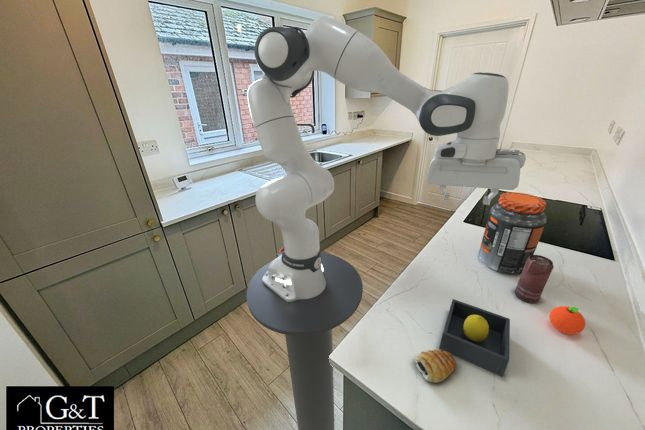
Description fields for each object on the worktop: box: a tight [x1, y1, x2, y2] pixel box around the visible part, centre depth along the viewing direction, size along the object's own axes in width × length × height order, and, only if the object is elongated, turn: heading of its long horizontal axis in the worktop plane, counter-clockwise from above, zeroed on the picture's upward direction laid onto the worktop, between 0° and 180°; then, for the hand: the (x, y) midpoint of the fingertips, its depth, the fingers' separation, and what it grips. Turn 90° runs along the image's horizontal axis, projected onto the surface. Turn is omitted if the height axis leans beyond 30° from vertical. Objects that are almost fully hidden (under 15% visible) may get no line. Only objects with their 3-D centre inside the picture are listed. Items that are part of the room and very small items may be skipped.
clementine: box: [549, 305, 586, 335], centre depth 69 cm, size 8×7×7 cm
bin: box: [438, 298, 511, 377], centre depth 67 cm, size 14×14×6 cm
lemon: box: [463, 315, 489, 342], centre depth 66 cm, size 6×6×8 cm
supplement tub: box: [478, 191, 548, 275], centre depth 91 cm, size 16×16×26 cm
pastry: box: [413, 349, 457, 384], centre depth 61 cm, size 9×7×4 cm
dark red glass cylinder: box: [514, 254, 554, 304], centre depth 78 cm, size 6×6×14 cm
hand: (465, 202), depth 68 cm, fingers open, 8 cm apart
